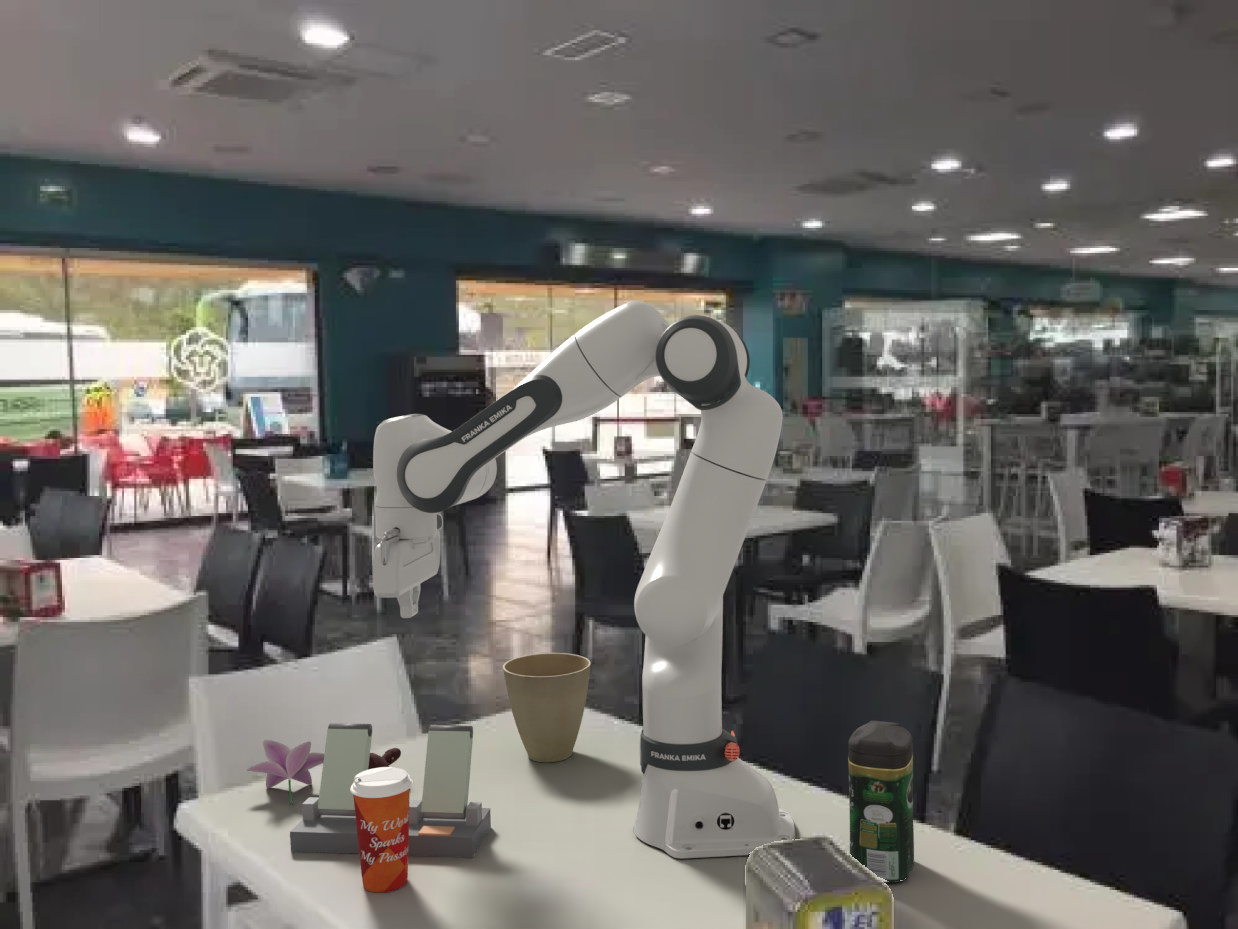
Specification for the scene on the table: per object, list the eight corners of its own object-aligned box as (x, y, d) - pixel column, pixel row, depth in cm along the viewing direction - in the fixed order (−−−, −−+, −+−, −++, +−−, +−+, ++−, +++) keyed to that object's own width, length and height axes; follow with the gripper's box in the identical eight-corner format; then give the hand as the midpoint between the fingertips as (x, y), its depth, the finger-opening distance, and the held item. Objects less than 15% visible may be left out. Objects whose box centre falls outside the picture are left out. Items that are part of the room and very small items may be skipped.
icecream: (355, 775, 158) (419, 752, 171) (318, 756, 161) (384, 735, 175) (345, 819, 159) (409, 793, 172) (309, 799, 162) (375, 774, 175)
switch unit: (490, 827, 154) (489, 792, 153) (472, 858, 144) (471, 820, 143) (320, 822, 157) (318, 787, 157) (290, 851, 147) (289, 814, 147)
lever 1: (362, 816, 151) (373, 724, 156) (357, 816, 149) (368, 723, 154) (322, 815, 152) (333, 724, 157) (316, 814, 150) (328, 722, 155)
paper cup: (360, 902, 132) (355, 791, 131) (349, 876, 139) (345, 771, 138) (422, 889, 135) (418, 780, 134) (409, 864, 142) (405, 761, 141)
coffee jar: (857, 849, 144) (856, 713, 143) (917, 858, 141) (917, 719, 139) (843, 880, 135) (842, 736, 134) (907, 890, 132) (907, 743, 131)
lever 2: (466, 820, 149) (473, 726, 154) (462, 819, 148) (470, 725, 152) (424, 818, 150) (433, 726, 155) (420, 818, 148) (429, 724, 153)
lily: (347, 795, 170) (338, 735, 174) (308, 792, 159) (299, 729, 163) (279, 816, 172) (272, 756, 175) (237, 814, 161) (230, 751, 165)
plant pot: (505, 743, 190) (502, 655, 188) (589, 738, 191) (586, 651, 190) (505, 774, 175) (502, 678, 174) (596, 768, 176) (594, 673, 175)
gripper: (403, 533, 148) (407, 632, 149) (446, 515, 169) (449, 602, 170) (359, 533, 149) (363, 631, 150) (407, 515, 169) (410, 602, 171)
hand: (409, 616), depth 160 cm, fingers closed
